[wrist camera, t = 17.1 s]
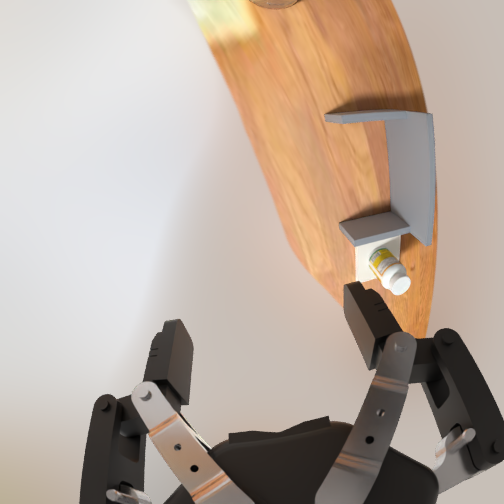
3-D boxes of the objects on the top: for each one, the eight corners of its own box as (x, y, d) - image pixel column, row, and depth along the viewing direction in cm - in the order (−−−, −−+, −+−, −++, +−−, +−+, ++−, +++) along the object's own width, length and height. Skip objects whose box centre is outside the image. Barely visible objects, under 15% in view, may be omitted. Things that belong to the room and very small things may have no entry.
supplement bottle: (368, 248, 49) (391, 275, 40) (391, 244, 49) (416, 270, 40) (365, 271, 51) (386, 301, 43) (387, 267, 51) (410, 294, 43)
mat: (354, 238, 48) (357, 241, 48) (398, 227, 48) (401, 230, 47) (355, 280, 53) (357, 283, 52) (396, 269, 53) (398, 271, 52)
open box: (324, 114, 37) (357, 116, 27) (388, 109, 37) (432, 113, 26) (339, 228, 47) (367, 263, 37) (395, 215, 47) (431, 244, 36)
